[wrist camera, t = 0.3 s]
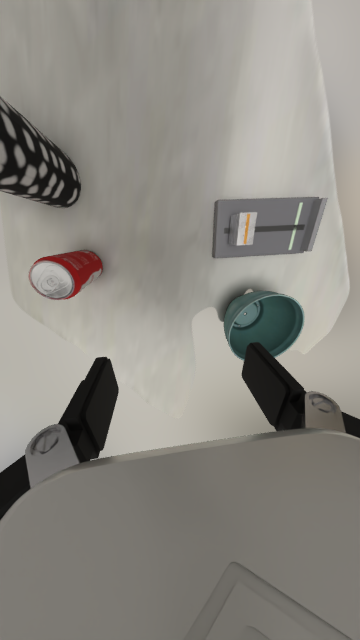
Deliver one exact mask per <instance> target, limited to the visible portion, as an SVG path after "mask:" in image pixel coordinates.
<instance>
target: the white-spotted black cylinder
mask: <svg viewBox="0 0 360 640" xmlns="http://www.w3.org/2000/svg"><path fill="white" fill-rule="evenodd" d="M80 190H81V183H80V178H79V175H78V172H77V170H76V167H75V165H74V164H73V162H72V161H71V160H70V158H69V157H68V156H67V155H66V154H65V153H64V152H63V151H61V150H60V149H59V148H58V147H57V146H56V145H55V144H54V143H52V142H51V141H50V140H49V139H48V138H47V137H46V136H45V135H43V134H42V133H41V132H40V131H39V130H38V129H37V128H36V127H34V126H33V125H32V124H31V123H30V122H29V121H28V120H27V119H25V118H24V117H23V116H22V115H21V114H20V113H19V112H18V111H16V110H15V109H14V108H13V107H12V106H11V105H10V104H9V103H7V102H6V101H5V100H4V99H3V98H2V97H1V96H0V191H3V192H6V193H10V194H13V195H16V196H20V197H23V198H27V199H30V200H34V201H37V202H40V203H44V204H47V205H51V206H54V207H58V208H66V207H69V206H72V205H73V204H74V203H75V202H76V201H77V200H78V198H79V195H80Z"/></svg>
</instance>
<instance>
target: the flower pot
mask: <svg viewBox="0 0 360 640" xmlns="http://www.w3.org/2000/svg"><path fill="white" fill-rule="evenodd" d="M258 305H259V306H258ZM244 313H246V315H244ZM239 325H240V326H239ZM303 325H304V311H303V308H302V306H301V305H300V304H299V302H298V301H297V300H295V299H294V298H292V297H290V296H287V295H284V294H278V293H275V292H270V291H256V292H251V293H248V294H245V295H242V296H239V297H237V298H236V299H234V300H233V301H232V302H231V303H230V305H229V306H228V308H227V311H226V314H225V318H224V331H225V335H226V339H227V341H228V344H229V346H230V348H231V351H232V352H233V353H234V354H235V355H236V356H237V357H238V358H239V359H241V360H244V359H245V354H246V348H247V345H249V344H250V343H253V342H259V343H260V344H261V345H262V346H263V347H264V348H265V349H266V350H267V351H268V352H269V353H270V354H271V355H272V356H273V357H274V358H275V357H277V356H279V355H281V354H282V353H284V352H285V351H286V350H287V349H289V348H290V347H291V346H292V345H293V344H294V342H295V341H296V340H297V338H298V337H299V335H300V333H301V331H302V329H303Z"/></svg>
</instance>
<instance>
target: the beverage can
mask: <svg viewBox="0 0 360 640" xmlns="http://www.w3.org/2000/svg"><path fill="white" fill-rule="evenodd" d="M102 270H103V266H102V262H101V260H100V258H99V257H98V256H97V255H96V254H95V253H93V252H91V251H88V250H80V251H75V252H69V253H64V254H58V255H53V256H48V257H43V258H40V259H38V260H37V261H36V262H35V263H34V264H33V265H32V267H31V268H30V270H29V281H30V283H31V285H32V287H33V288H34V289H35V290H36V291H37V292H38V293H39V294H41V295H42V296H44V297H46V298H49V299H53V300H61V299H69V298H71V297H73V296H75V295H76V294H77V293H79V292H80V291H81V290H82V289H84V288H85V287H86V286H87V285H89V284H90V283H91V282H92V281H94V280H95V279H96V278H97V277H99V276H100V275H101V273H102Z"/></svg>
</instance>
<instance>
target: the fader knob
mask: <svg viewBox="0 0 360 640" xmlns="http://www.w3.org/2000/svg"><path fill="white" fill-rule="evenodd" d="M256 217H257V212H247V213H238V214H234V215H231V219H230V231H229V243H228V245H236V246H238V245H252V244H253V238H254V231H255V224H256Z"/></svg>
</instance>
